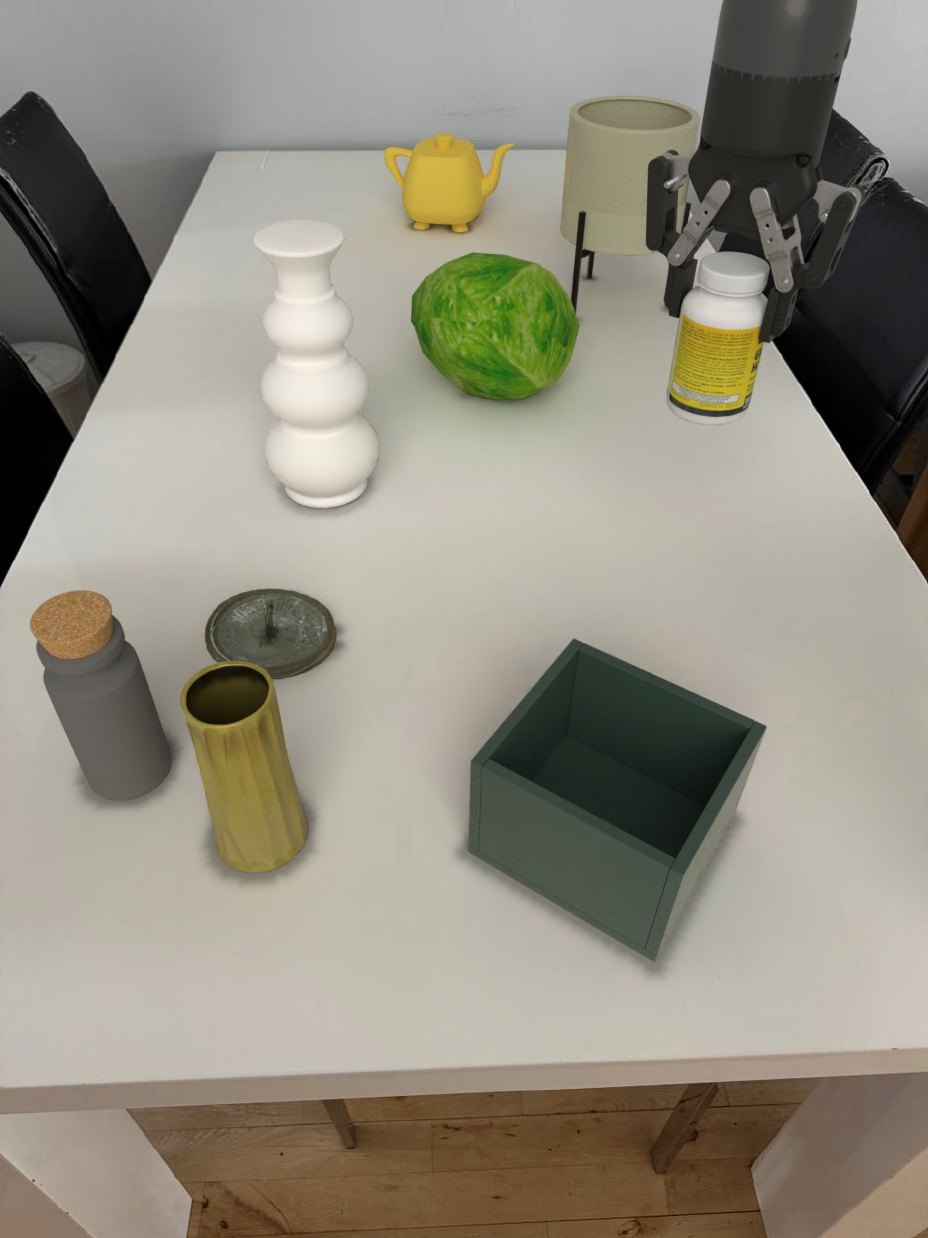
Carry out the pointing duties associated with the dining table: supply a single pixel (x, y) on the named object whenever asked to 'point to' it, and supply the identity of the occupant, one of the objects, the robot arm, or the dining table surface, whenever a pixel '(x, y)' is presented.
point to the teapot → (444, 180)
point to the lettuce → (495, 325)
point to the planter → (618, 173)
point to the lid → (272, 631)
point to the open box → (610, 792)
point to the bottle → (100, 695)
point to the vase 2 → (313, 372)
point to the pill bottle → (719, 340)
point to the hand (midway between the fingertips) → (722, 325)
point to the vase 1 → (244, 765)
